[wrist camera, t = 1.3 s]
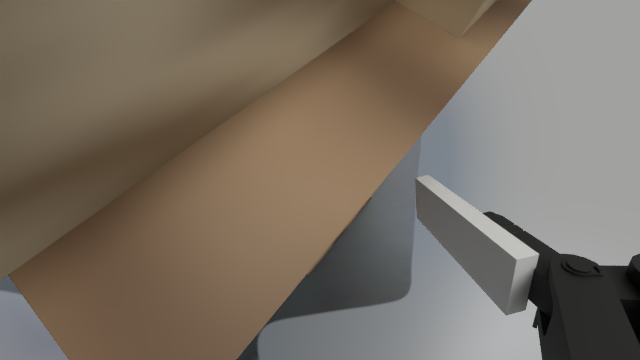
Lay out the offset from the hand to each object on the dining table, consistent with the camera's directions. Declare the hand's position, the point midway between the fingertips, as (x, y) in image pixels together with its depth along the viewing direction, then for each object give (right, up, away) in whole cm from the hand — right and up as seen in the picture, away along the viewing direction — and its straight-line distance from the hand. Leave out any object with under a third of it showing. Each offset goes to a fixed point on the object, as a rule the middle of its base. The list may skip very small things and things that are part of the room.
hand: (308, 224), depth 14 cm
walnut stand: (-3, -4, +20) cm, 20 cm away
